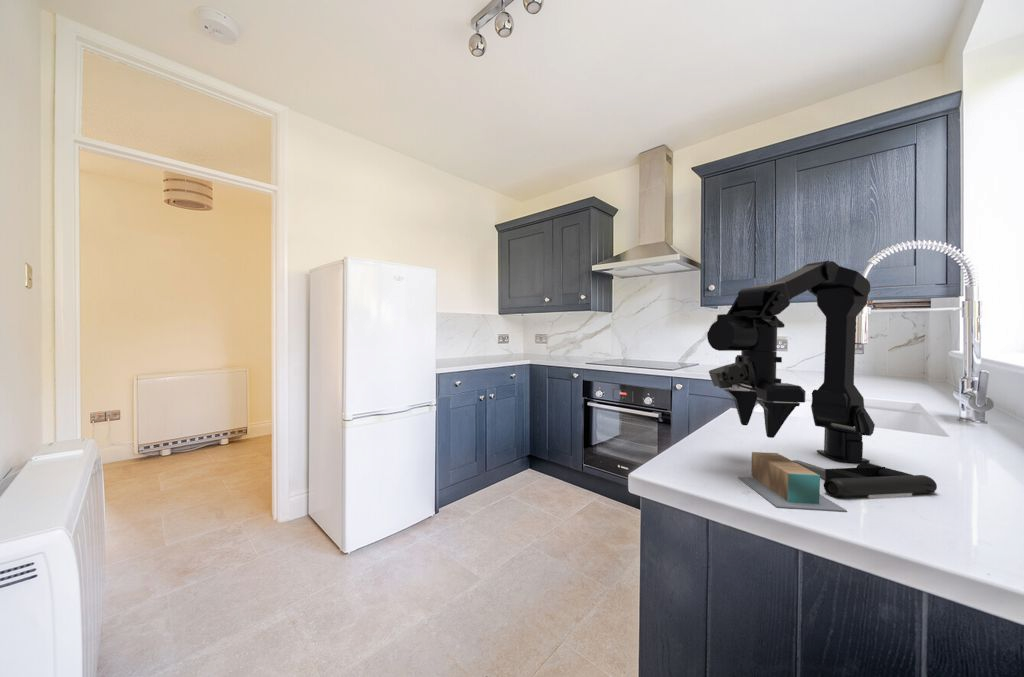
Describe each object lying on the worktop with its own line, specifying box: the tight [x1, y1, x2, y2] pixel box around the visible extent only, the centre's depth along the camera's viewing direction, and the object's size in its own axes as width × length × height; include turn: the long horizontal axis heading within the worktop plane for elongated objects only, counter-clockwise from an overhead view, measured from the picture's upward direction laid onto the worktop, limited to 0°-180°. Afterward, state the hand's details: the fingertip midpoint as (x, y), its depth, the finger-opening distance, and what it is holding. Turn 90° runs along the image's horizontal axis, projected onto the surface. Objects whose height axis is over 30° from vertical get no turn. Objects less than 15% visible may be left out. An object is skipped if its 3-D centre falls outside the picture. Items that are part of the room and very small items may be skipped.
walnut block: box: [750, 451, 821, 504], centre depth 64 cm, size 4×4×11 cm
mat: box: [737, 476, 848, 513], centre depth 63 cm, size 12×10×1 cm
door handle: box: [790, 459, 938, 499], centre depth 69 cm, size 3×20×16 cm
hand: (756, 430), depth 72 cm, fingers open, 9 cm apart
